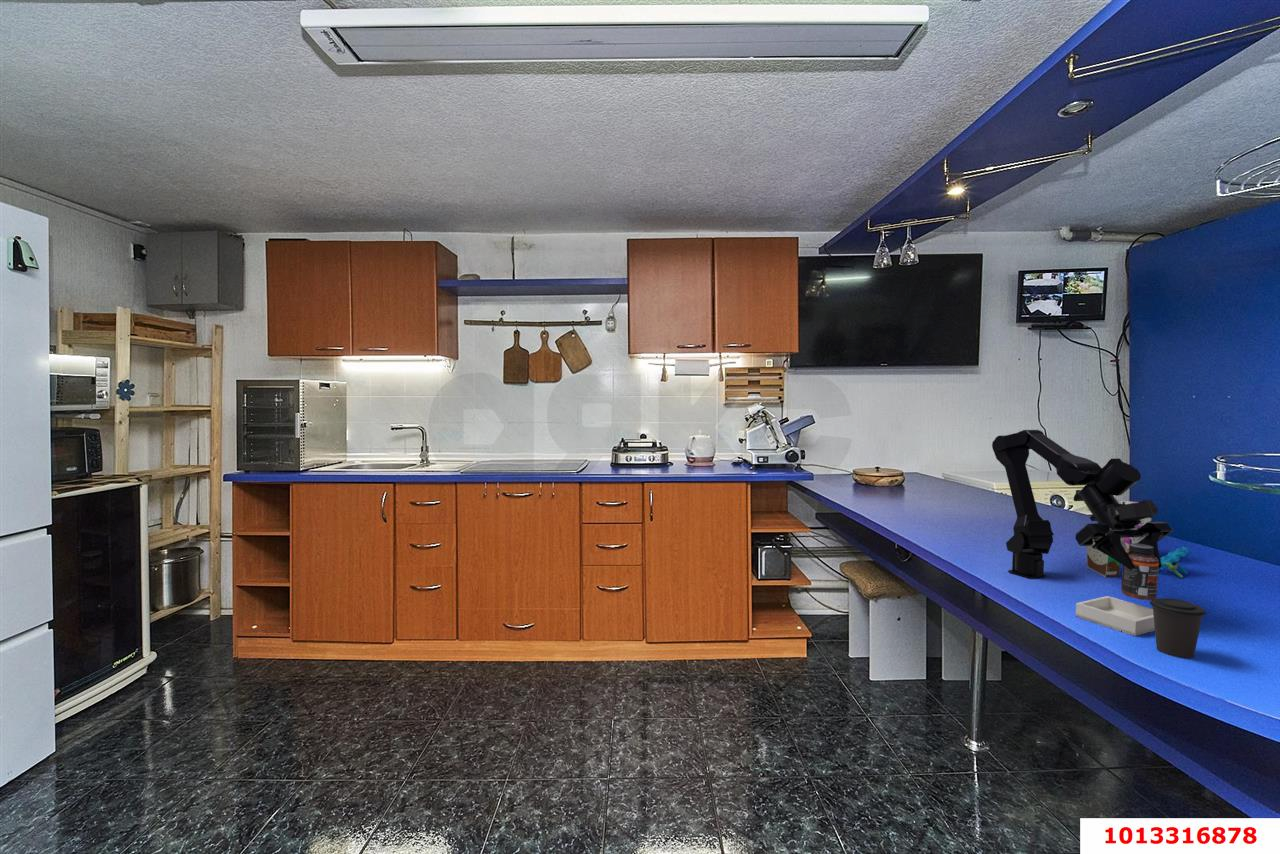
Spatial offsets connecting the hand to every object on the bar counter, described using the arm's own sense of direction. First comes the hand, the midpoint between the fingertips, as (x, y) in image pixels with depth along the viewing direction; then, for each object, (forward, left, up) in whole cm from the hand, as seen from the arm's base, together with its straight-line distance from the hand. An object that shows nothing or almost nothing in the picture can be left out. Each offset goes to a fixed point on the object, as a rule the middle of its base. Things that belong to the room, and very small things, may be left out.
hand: (1146, 568), depth 125 cm
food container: (-25, +33, -12) cm, 43 cm away
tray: (-3, -3, -12) cm, 13 cm away
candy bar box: (-31, +56, -12) cm, 65 cm away
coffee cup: (+10, -10, -12) cm, 19 cm away
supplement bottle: (-1, 0, -7) cm, 7 cm away
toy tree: (-18, +48, -13) cm, 53 cm away
